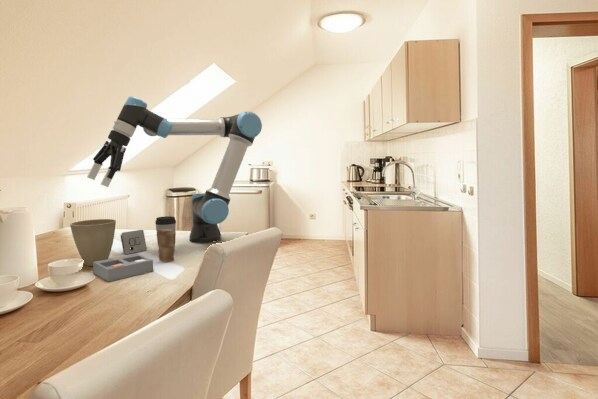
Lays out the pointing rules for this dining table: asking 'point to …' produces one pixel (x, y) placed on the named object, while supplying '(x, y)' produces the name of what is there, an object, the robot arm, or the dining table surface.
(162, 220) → the coffee cup
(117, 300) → the dining table surface
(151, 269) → the grey compartment tray
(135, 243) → the electrical switch
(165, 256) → the plug
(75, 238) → the plant pot
